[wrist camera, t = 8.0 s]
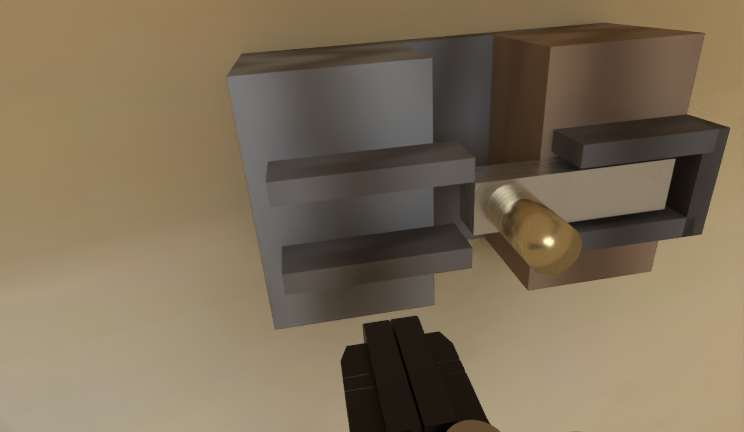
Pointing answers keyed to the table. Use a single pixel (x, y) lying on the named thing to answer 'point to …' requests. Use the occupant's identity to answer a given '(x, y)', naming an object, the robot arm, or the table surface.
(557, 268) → the bolt
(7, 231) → the table surface
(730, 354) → the table surface
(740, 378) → the table surface
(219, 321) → the table surface
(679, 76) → the door and jamb
